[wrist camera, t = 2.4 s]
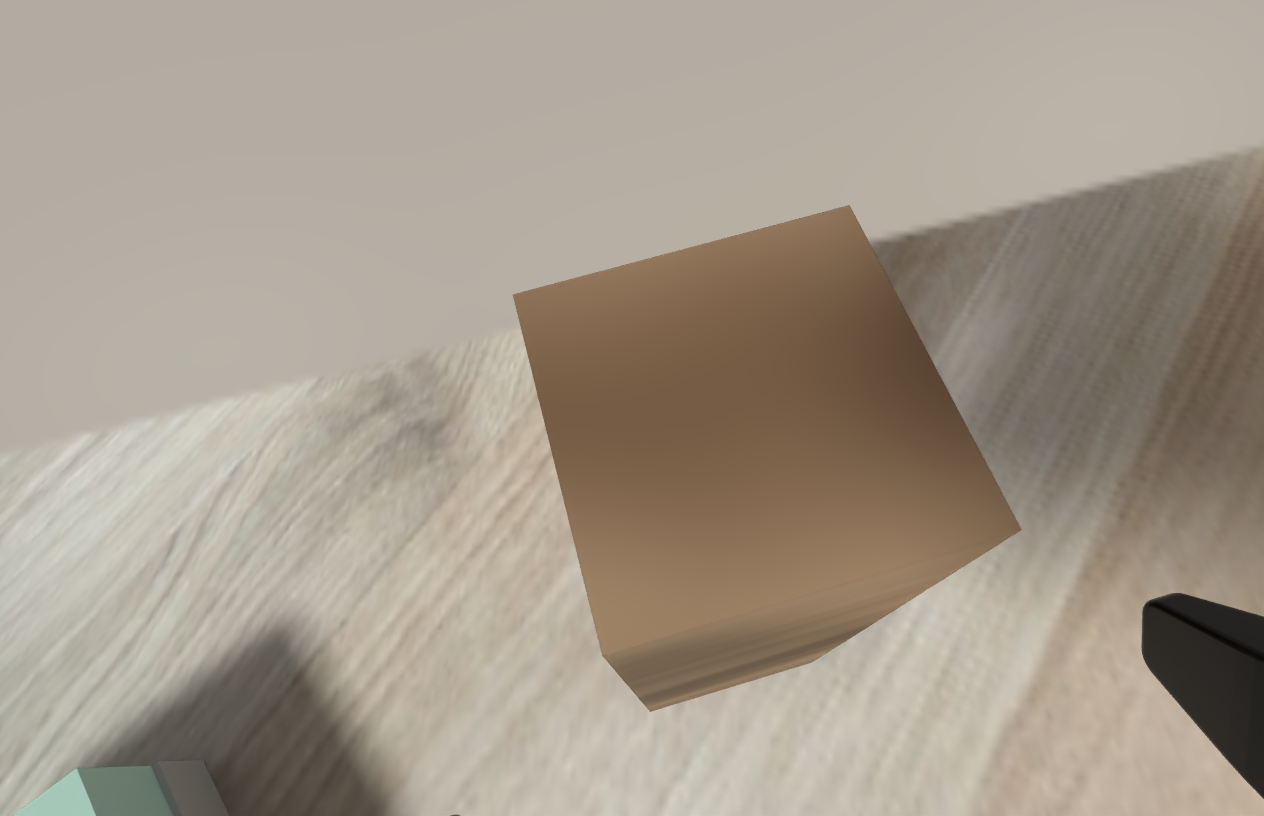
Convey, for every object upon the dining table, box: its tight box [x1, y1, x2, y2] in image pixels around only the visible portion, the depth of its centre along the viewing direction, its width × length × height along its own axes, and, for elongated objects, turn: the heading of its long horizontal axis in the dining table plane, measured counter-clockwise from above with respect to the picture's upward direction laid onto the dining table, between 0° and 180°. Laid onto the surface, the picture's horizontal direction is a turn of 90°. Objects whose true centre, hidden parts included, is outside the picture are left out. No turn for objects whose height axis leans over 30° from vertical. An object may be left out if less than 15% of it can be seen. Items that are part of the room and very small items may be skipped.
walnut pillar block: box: [513, 206, 1021, 712], centre depth 14 cm, size 4×4×13 cm
